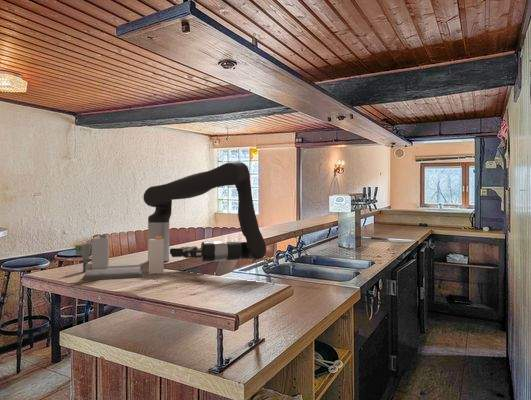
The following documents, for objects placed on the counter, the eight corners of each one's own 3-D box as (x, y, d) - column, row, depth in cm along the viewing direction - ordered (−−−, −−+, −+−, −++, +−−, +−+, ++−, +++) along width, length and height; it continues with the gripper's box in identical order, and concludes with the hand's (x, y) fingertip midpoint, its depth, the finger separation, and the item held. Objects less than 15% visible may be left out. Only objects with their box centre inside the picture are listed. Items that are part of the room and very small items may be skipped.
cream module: (148, 271, 140) (149, 236, 141) (163, 271, 142) (163, 236, 142) (149, 273, 136) (149, 237, 137) (163, 273, 138) (163, 237, 138)
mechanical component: (96, 269, 147) (96, 243, 147) (81, 273, 137) (81, 245, 137) (89, 269, 147) (89, 243, 148) (73, 273, 137) (73, 245, 137)
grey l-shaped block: (88, 274, 135) (88, 234, 135) (141, 271, 140) (142, 233, 141) (83, 280, 124) (83, 236, 124) (141, 277, 129) (142, 235, 129)
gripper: (211, 240, 153) (169, 241, 148) (217, 243, 139) (172, 244, 134) (211, 258, 153) (169, 260, 148) (217, 263, 139) (172, 265, 134)
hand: (170, 252), depth 141 cm, fingers open, 8 cm apart
